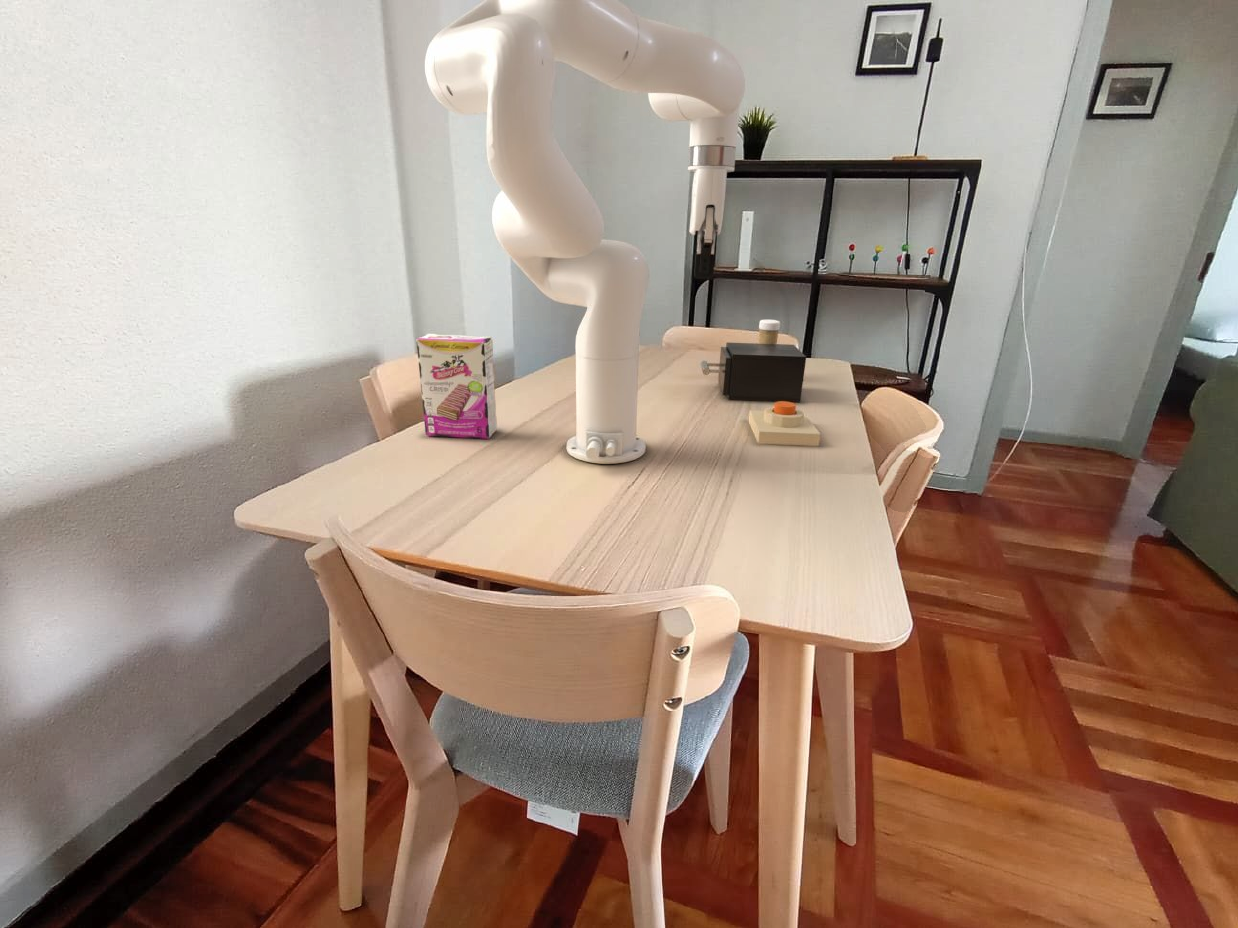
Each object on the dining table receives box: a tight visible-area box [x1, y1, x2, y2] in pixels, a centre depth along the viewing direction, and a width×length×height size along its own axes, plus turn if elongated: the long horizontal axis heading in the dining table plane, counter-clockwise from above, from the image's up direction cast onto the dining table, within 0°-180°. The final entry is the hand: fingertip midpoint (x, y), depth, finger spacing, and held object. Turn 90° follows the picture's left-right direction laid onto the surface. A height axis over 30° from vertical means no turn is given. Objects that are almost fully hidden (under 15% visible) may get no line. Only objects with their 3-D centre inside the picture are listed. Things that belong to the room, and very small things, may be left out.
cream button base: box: [748, 406, 821, 447], centre depth 106 cm, size 12×10×4 cm
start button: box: [773, 401, 797, 415], centre depth 105 cm, size 4×4×2 cm
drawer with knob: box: [700, 346, 732, 396], centre depth 130 cm, size 18×11×8 cm, turn 86°
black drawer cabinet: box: [725, 342, 807, 404], centre depth 129 cm, size 15×13×10 cm
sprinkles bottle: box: [757, 319, 781, 344], centre depth 141 cm, size 5×5×14 cm
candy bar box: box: [415, 333, 498, 440], centre depth 100 cm, size 11×5×16 cm, turn 85°
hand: (703, 278), depth 106 cm, fingers closed
